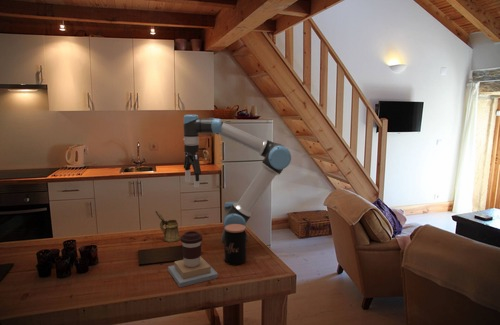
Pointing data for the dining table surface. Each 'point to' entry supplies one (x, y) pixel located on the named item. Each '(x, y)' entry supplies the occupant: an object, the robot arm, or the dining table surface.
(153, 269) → the dining table surface
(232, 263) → the coffee jar
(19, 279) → the dining table surface
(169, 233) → the brass coffee pot
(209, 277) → the base
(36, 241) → the dining table surface
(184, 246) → the coffee cup
